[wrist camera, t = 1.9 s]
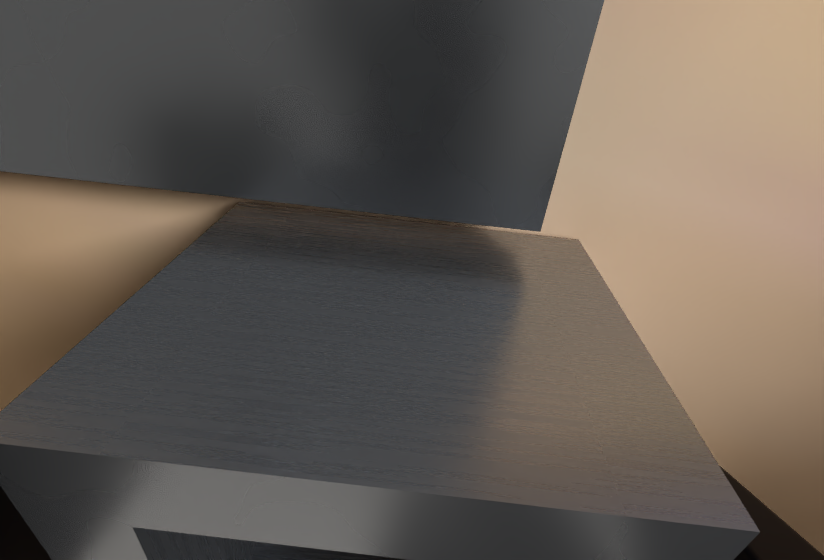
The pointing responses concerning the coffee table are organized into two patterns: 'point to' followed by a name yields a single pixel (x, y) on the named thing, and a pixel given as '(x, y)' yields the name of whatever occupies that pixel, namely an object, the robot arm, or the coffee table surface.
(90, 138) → the flange plate
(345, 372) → the collar
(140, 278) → the coffee table surface
